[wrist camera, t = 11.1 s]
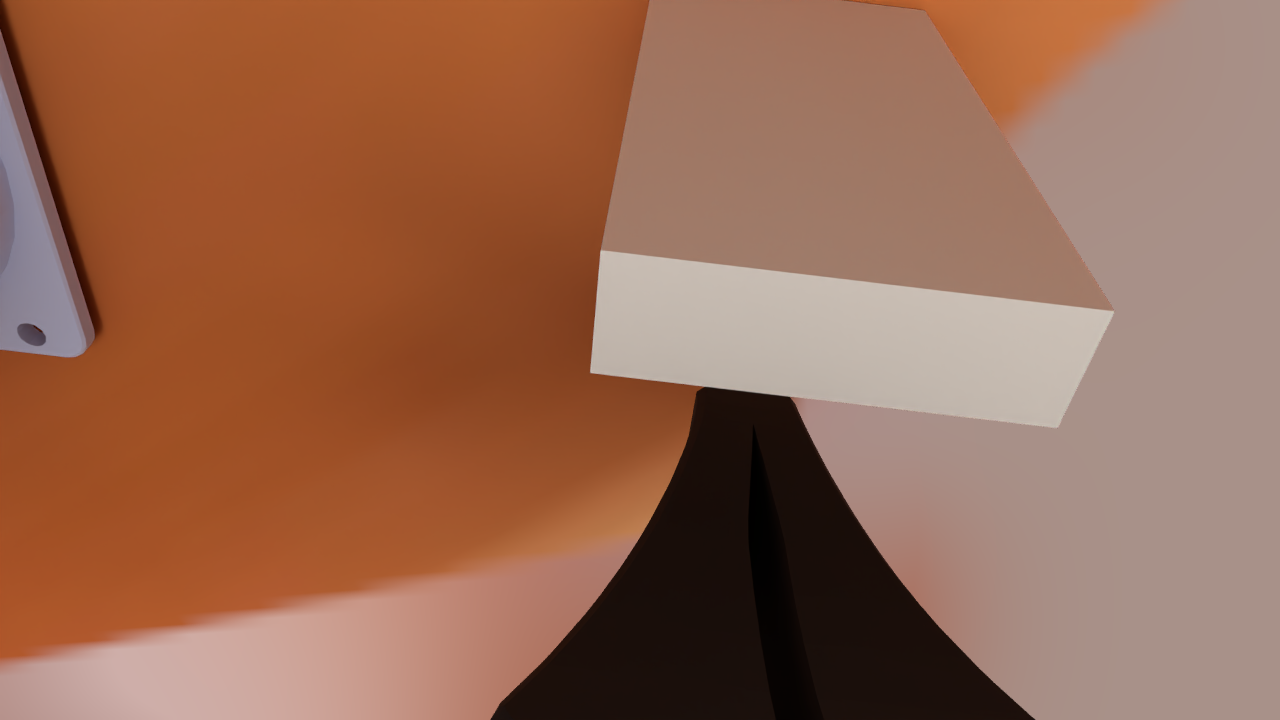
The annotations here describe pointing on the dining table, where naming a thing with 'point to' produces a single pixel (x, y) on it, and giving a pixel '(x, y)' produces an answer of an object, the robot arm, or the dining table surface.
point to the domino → (833, 222)
